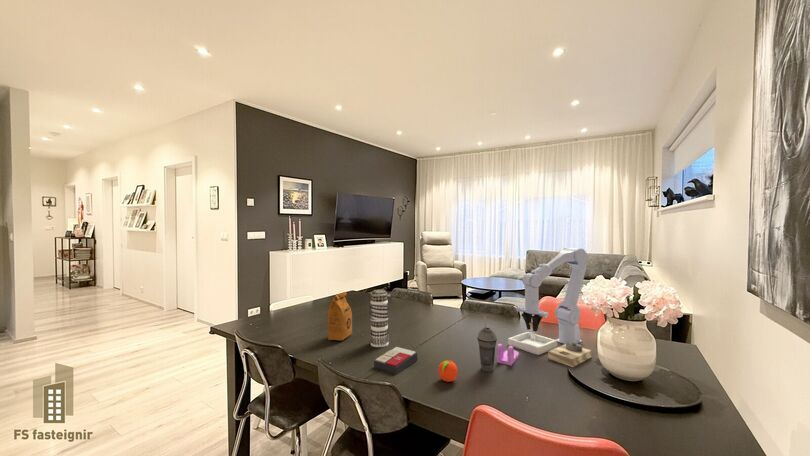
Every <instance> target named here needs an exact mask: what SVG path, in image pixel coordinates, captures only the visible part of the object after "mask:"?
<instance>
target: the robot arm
mask: <svg viewBox="0 0 810 456" xmlns="http://www.w3.org/2000/svg"><path fill="white" fill-rule="evenodd" d="M588 257H589V255H588V254H587V251H586V250H585V249H584V248H575V247H563V249H562V250H560V251H559V253H558V254H557V255H555V257H553V258H551V260H550V261H548V262H547V263H540V264H538V267H537V268H535V269H534V270H531V271H530V272H528V273H525V274H524V276H523V278H522V279H521V281H522V284H523V286H524V306H516V312H521V317H522V318H523V320H524V323H525V326H526V330H527V331H528V330H529V331H530V325H529V322H533V331H534V332H535V333H536V332H538V330H539V325H540V323H541V320H542V319H543V318H544V319H547V318H549V312H546V311H543V310H540V305H539V304H540V301H539V300H540V299H539V295H540V294H539V289H540V288H539V287H540V286H542V282H543V281H544V280H545V279H546V278H548V277H549V276H550V275H552V273H553V270H554V269H556V268H557V267H559V266H561V265H562V264H563V263H567V264H568V265H570V267H571V269H572V270H571V273H570V277H569V281H568V284H567V288H566V291H565V295H564V299H563V300H562V301H561V302H559V304H558V305H557V307H556V309H555V311H554V312H555V313H554V315H555V317H556V319H557V321H558V338H556V339H555V340H557V343H561V344H563V345H564V344H566V343H572V342H575V343H577V344H579V343H581V342H583V341H582V339H581V338H580V337H581V336H580V326H579V322H580V319H581V315H580V313H581V309H580V307H579V305H578V301H579V297H580V293H581V289H582V286H583V282H584V278H585V274H586V272H587V261H588Z"/></svg>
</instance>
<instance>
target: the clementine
mask: <svg viewBox="0 0 810 456" xmlns="http://www.w3.org/2000/svg"><path fill="white" fill-rule="evenodd" d="M437 371H438V376H439V377H440V379H442V380H443V382H447V383H449V382H453V381H455V379H457V377H458V374H459V373H458V372H459V370H458V366H457V365H456V363H454V362H453V361H452V360H450V359H449V360H443V361H442V362H441V363H440V364H439V366H438V370H437Z"/></svg>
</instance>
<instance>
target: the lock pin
mask: <svg viewBox="0 0 810 456" xmlns="http://www.w3.org/2000/svg"><path fill="white" fill-rule="evenodd" d="M529 325H530V329H529V331H530V333H531V341H536V337H535V334H536V332H534V331H533V321H531V322H529Z"/></svg>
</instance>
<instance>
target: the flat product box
mask: <svg viewBox="0 0 810 456" xmlns="http://www.w3.org/2000/svg"><path fill="white" fill-rule="evenodd" d="M418 360H419V358H418V352H416V351H414V350H410V349H407V348H402V347H399V346H395V347H394V348H392V349H389V350H388V351H386V352H385V353H383V354H381V355H380V356H379V357H377V358H376V359H375V360H373V365H374V368H375V369H377V370H380V371H384V372H388V373H391V374H395V375H397V374H399V373H400V372H402V371H404V370H405V369H407V368H408V367H410V366H411V365H414V363H416V362H418Z"/></svg>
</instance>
